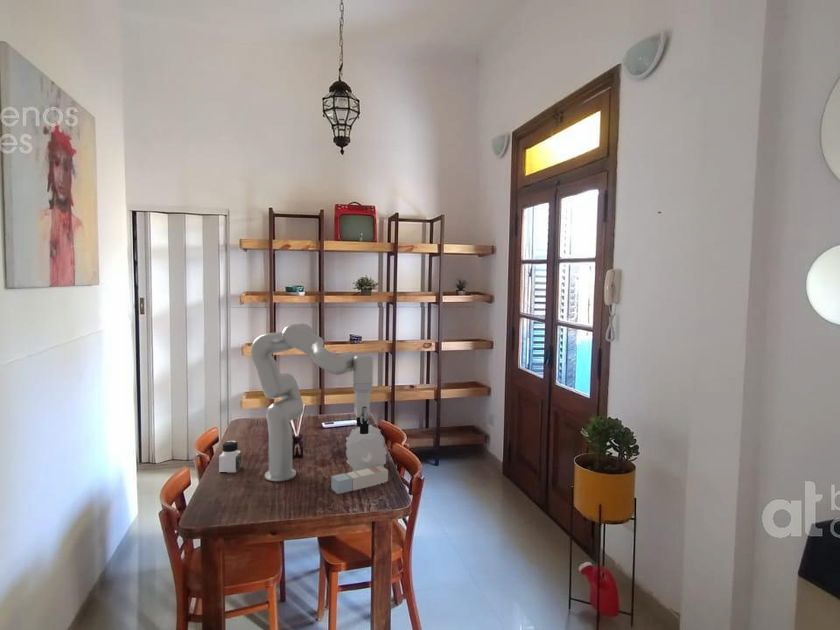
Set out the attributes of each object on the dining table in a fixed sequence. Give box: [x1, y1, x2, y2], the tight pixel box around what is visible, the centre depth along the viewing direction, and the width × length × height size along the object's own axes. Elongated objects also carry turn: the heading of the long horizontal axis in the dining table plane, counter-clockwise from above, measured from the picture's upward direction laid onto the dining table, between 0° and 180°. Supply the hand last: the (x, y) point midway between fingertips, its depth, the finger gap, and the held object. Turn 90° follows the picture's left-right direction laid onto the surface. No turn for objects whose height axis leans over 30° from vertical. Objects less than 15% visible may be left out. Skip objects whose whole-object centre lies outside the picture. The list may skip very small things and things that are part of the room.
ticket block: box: [346, 466, 389, 492], centre depth 199 cm, size 6×16×5 cm, turn 124°
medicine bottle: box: [218, 440, 242, 473], centre depth 211 cm, size 7×7×12 cm
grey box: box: [330, 472, 352, 495], centre depth 193 cm, size 6×6×5 cm
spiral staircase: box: [345, 424, 388, 472], centre depth 216 cm, size 18×18×25 cm
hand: (362, 430), depth 192 cm, fingers open, 9 cm apart
